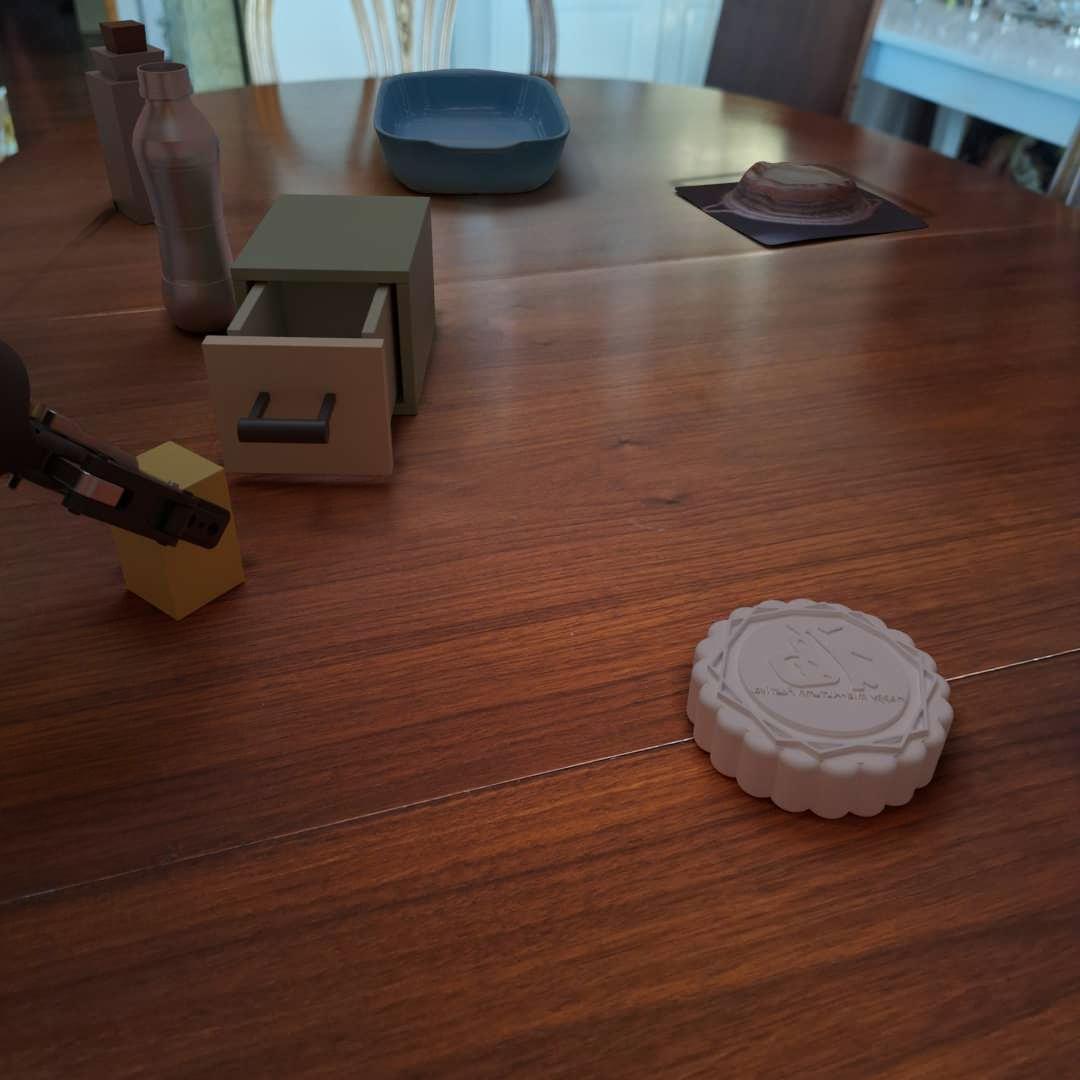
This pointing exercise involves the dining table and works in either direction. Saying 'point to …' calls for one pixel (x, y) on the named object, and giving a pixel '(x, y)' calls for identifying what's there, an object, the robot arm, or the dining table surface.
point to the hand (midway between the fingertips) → (167, 500)
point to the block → (181, 541)
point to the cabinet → (353, 262)
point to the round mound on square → (798, 204)
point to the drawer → (307, 379)
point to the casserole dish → (470, 130)
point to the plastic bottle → (184, 199)
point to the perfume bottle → (121, 110)
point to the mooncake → (818, 707)
